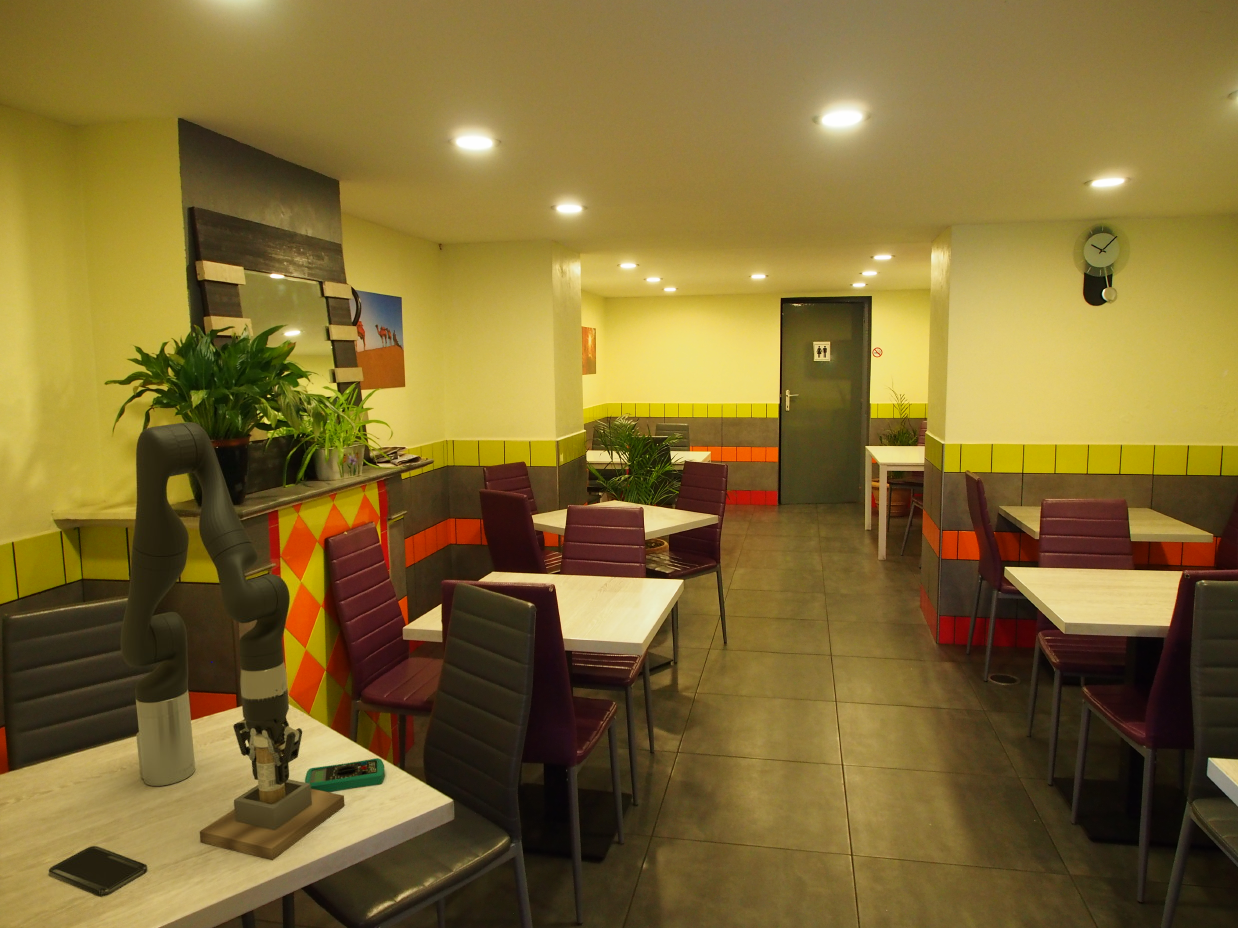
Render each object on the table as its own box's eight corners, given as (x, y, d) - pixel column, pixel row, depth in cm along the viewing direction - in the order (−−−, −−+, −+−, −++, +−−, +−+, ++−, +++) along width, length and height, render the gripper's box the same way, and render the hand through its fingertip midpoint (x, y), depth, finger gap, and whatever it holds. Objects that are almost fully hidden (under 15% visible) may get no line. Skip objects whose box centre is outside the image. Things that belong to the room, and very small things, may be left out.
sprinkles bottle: (285, 793, 151) (280, 723, 149) (287, 805, 147) (281, 733, 145) (258, 799, 149) (252, 729, 148) (259, 811, 145) (253, 739, 143)
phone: (103, 893, 128) (45, 869, 135) (103, 899, 128) (46, 875, 135) (150, 865, 135) (94, 843, 142) (151, 871, 136) (94, 849, 142)
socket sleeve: (235, 821, 146) (233, 799, 145) (273, 795, 154) (271, 775, 154) (275, 830, 142) (273, 808, 142) (311, 804, 151) (310, 783, 150)
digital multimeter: (385, 785, 162) (384, 771, 162) (304, 798, 158) (303, 784, 157) (384, 768, 169) (383, 754, 168) (307, 780, 165) (306, 766, 164)
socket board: (200, 841, 143) (199, 829, 143) (277, 791, 160) (276, 780, 159) (272, 859, 137) (271, 847, 137) (344, 805, 154) (343, 794, 154)
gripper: (216, 691, 145) (224, 783, 147) (280, 702, 139) (287, 797, 142) (249, 676, 152) (256, 764, 154) (311, 685, 146) (318, 776, 148)
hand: (271, 779), depth 148 cm, fingers closed on sprinkles bottle, 4 cm apart
